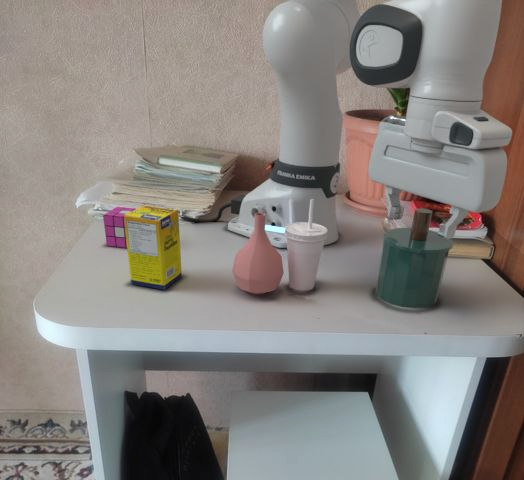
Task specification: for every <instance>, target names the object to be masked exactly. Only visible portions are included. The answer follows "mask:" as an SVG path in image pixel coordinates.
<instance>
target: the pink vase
mask: <svg viewBox="0 0 524 480" xmlns="http://www.w3.org/2000/svg"><path fill="white" fill-rule="evenodd" d="M232 274H233V278H234V282H235V284H236V286H237V287H238V289H240V290H242V291H243V292H244V291H245V292H248V293H250V294H252V295H256V296H258V295H259V296H260V295H264V294H265V293H270V292H273V291H275V290H277V289H278V288H279V286H280V284H281V282H282V279H283V276H284V264H283V255H282V254H281V253H280V252H279V251H278V250H277V248H276V247H275V246H273V245H272V244H271V243H270V240H269V238H268V236H267V234H266V232H265V214H264V213H255V227H254V231H253V233H252V235H251V237H249V239H248V240H247V242H246V243H245V245H244V246H243V247H241V248H240V249H239V250H238V251H237V252H236V254H235V256H234V261H233V265H232Z"/></svg>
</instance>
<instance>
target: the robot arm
mask: <svg viewBox="0 0 524 480" xmlns="http://www.w3.org/2000/svg"><path fill="white" fill-rule="evenodd" d="M502 3H503V0H388V1H385V2H383V3H379V4H374V5H373V6H370V7H368V8H367V9H366V10H365V11H364V12H363V13H362V15H361V14H360V12H359V11H360V10H359V7H358V4H357V0H286V1H284V2H282V3H280V4H278V5H277V6H275V7H274V8H273V9H272V10H271V12H270V13H269V14H268V16H267V17H266V20H265V22H264V25H263V28H262V34H261V35H262V36H261V43H262V50H263V54H264V55H265V58H266V60H267V62H268V63H269V65H270V67H271V69H272V71H273V75H274V79H275V85H276V91H277V97H278V104H279V115H280V116H279V117H280V122H279V123H280V125H279V126H280V127H279V150H278V151H279V152H278V158H277V159H275V160H272V161H271V162H268V163H267V164H265V166H266V169H265V170H266V171H270V175H269V178H268V179H267V180H265V181H264V182H262V183H261V184H259V185H258V186H257V187H256V188H254V189H253V190H251V191H250V192H248V193H247V194H239V195H238V196H235V197H234V198H232V199H230V202H228V203H225V204H223V205H222V206H221V207H220V208H219V210H218V213H217V216H216V217H213V218H210V219H201V218H196V217H192V216H191V217H190V216H187V217H180V218H181V219H183V220H185V221H189V222H193V223H215V222H217V221H219V220H220V219H221V218H222V214H223V212H224V210H225V209H227V208H230V214H232V215H237V216H235V217H234V218H232V219H231V220H230V221H229V222H228V223H227V230H228V231H230V232H232V233H236V234H239V235H241V236H244V237H247V238H250V237H251V235H252V233H253V231H254V227H255V213H264V214H265V232H266V234H267V236H268V238H269V240H270V243H271V244H272V246H273V247H275V248H280V249H287V237H286V236H285V234H284V233H285V227H286V226H287V225H289V224H291V223H297V222H308V221H309V209H310V199H314V207H313V218H312V223H315V224H319V225H322V226H324V227H325V228H327V230H328V232H327V238H326V239H325V240H324V244H323V246H327V245H330V244H334V243H335V242H336V241H338V239H339V237H340V236H339V231H338V226H337V224H338V223H337V212H336V211H337V207H336V206H337V204H336V201H337V194H338V189H339V186H340V179H341V178H340V176H341V175H340V174H341V173H340V172H341V163H340V162H339V159H340V149H341V141H342V133H343V132H342V131H343V123H344V117H343V112H342V110H341V108H340V102H339V97H338V96H339V95H338V85H337V76H338V75H342V74H344V73H345V72H347V71H349V70H350V69H352V71H353V73H354V75H355V76H356V78H357V79H358V80H359V81H360V82H361V83H363V84H365V85H367V86H370V87H373V88H378V89H409V98H408V102H407V107H406V114H405V116H400V115H397V114H393V113H392V114H388V115H387V116H386V117H384V118H383V119H382V120H381V121H380V122H379V125H378V128H377V135H376V137H375V140H374V143H373V147H372V150H371V154H370V158H369V164H368V168H367V174H368V177H369V180H370V181H371V182H374V183H377V184H380V185H384V186H385V188H384V196H385V199H386V203H387V206H388V210H387V215H386V216H387V217H388V218H389V219H392V220H395V221H397V220H401V219H402V218H403V216H404V211H405V206H403V205H401V201H400V194H401V193H402V192H406V193H410V194H412V195H416V196H419V197H422V198H425V199H429V200H432V201H435V202H439V203H442V204H445V205H447V206H448V205H449V206H450V209H449V212H448V213H449V214H450V215H451V216H450V218H449V219H448V220H447V221H446V222H441V223H440V224H439V227H438V231H437V232H438V235H439V236H441V237H443V238H446V239H450V238H451V239H453V238H454V237H455V235H456V231H457V228H458V227H457V226H459V225H460V224H461V222H462V221H463V220H464V219H465V218H466V217H467V216H468V215H469V212H471V213H474V214H480V213H485V212H489V211H492V210H493V209H494V208H495V207H497V205H498V204H499V202H500V200H501V196H502V193H503V189H504V184H505V180H506V175H507V169H508V156H507V153H506V151H505V150H504V149H503V147H507V146H509V144H510V142H511V140H512V136H513V130H512V128H511V127H510V126H508V125H506V124H505V123H503V122H501V121H500V120H498V119H496V118H495V117H493V115H491V114H489V113H488V112H486V111H484V110H483V109H481V106H482V103H483V98H484V91H483V90H484V89H483V88H484V78H485V76H486V73H487V71H488V68H489V66H490V65H491V62H492V60H493V55H494V51H495V47H496V42H497V37H498V33H499V32H498V31H499V26H500V20H501V13H502ZM267 166H268V167H267Z"/></svg>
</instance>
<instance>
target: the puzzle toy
mask: <svg viewBox="0 0 524 480" xmlns="http://www.w3.org/2000/svg"><path fill="white" fill-rule="evenodd" d="M136 209H137V208H136V207H125V206H115V207H114V208H112V209H110V210H109V211H108V212H106V213H104V214H103V215H102V218H103V225H104V234H105V235H104V236H105V243H106V246H107V247H112V248H113V247H114V248H123V249H127V241H126V231H125V222H124V216H125V214H127V213H129V212H131V211H134V210H136Z"/></svg>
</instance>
